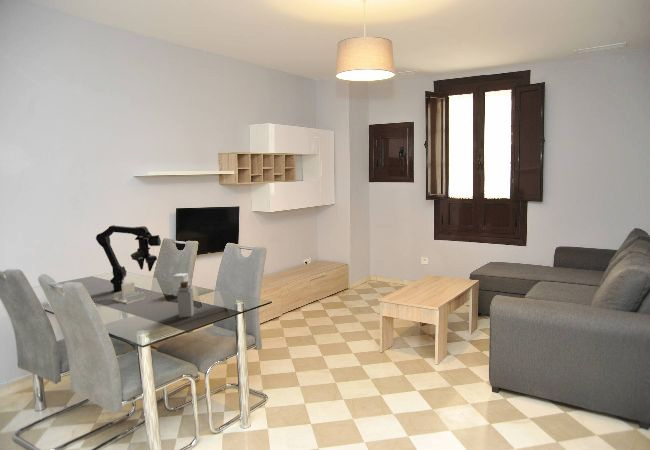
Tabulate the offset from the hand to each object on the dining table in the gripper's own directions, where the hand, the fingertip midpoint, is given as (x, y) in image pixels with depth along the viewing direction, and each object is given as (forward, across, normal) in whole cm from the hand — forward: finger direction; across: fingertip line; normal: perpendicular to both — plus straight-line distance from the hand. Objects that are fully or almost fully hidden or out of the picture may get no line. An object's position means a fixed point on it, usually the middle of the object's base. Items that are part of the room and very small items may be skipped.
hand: (145, 270), depth 316 cm
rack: (+13, +9, -18) cm, 24 cm away
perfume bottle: (+13, +64, -17) cm, 68 cm away
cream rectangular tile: (+12, +9, -18) cm, 23 cm away
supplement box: (+13, +28, +6) cm, 32 cm away
